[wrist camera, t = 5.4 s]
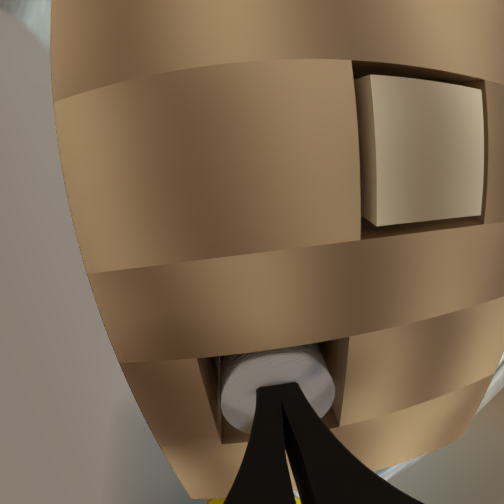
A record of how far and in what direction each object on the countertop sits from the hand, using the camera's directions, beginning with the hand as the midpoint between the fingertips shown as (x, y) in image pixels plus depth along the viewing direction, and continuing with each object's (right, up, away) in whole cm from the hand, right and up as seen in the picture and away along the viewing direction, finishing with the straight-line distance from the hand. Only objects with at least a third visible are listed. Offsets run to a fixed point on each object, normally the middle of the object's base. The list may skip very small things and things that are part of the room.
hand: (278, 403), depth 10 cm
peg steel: (0, +2, +4) cm, 5 cm away
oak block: (+2, +5, +4) cm, 7 cm away
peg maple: (+4, +10, +2) cm, 11 cm away
